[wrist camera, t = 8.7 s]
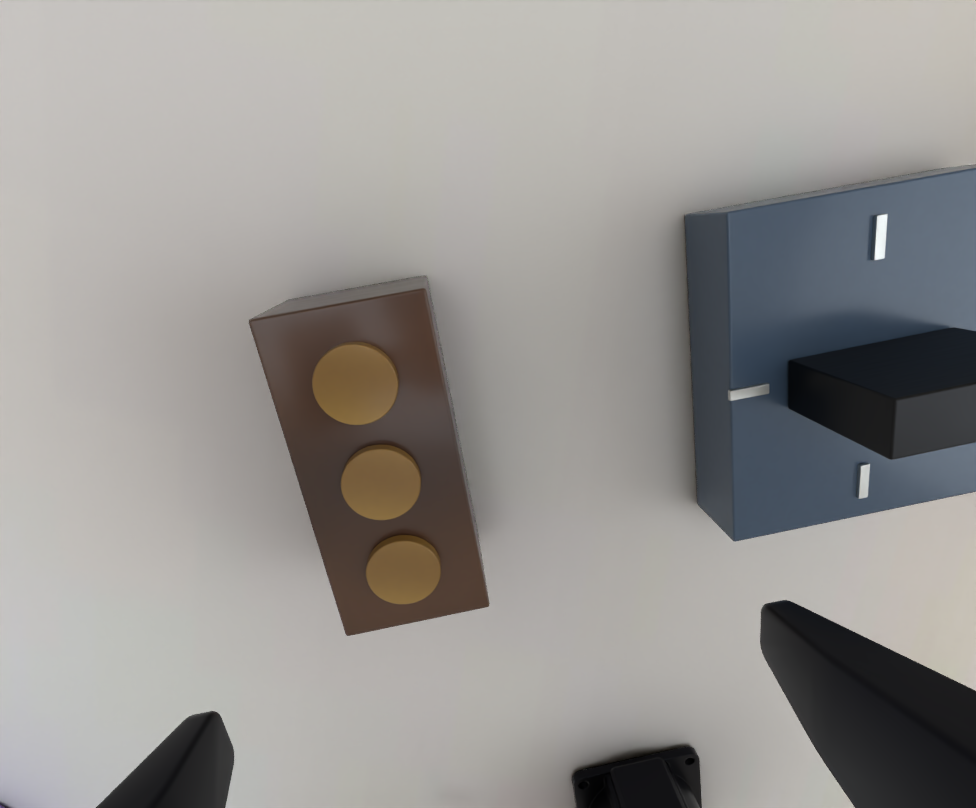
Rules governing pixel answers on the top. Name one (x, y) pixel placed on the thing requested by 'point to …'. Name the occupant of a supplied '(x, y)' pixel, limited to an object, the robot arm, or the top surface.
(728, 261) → the dial panel
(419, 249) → the top surface
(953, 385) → the black block red tip
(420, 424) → the token holder
